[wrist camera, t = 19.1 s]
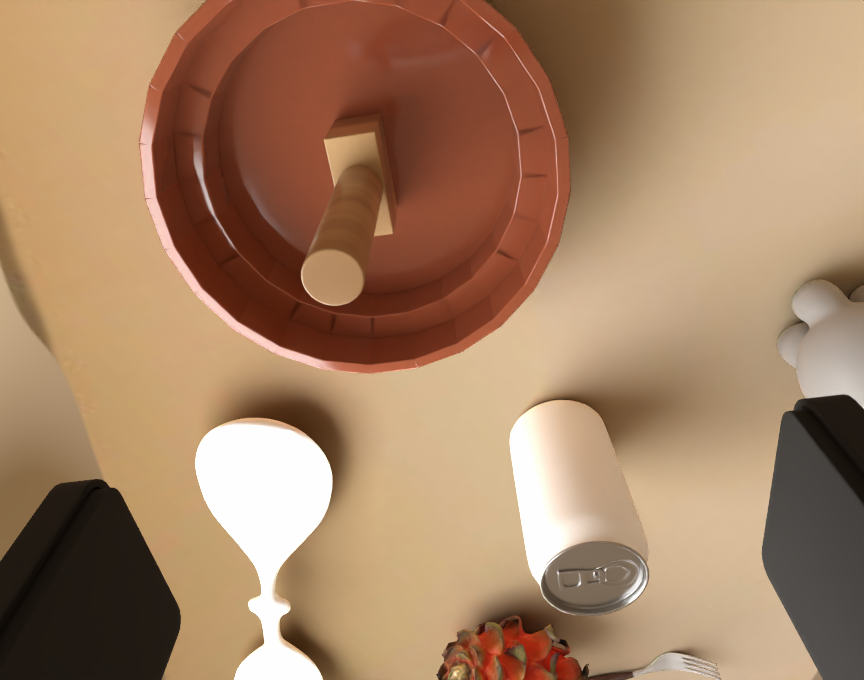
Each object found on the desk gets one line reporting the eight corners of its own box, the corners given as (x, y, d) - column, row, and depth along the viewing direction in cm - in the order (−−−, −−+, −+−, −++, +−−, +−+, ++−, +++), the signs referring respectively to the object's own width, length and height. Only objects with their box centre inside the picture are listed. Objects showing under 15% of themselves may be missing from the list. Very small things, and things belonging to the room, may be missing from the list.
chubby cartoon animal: (723, 427, 44) (781, 522, 37) (790, 262, 38) (875, 336, 31) (827, 435, 45) (905, 531, 37) (910, 273, 39) (1022, 349, 31)
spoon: (234, 689, 59) (224, 728, 56) (195, 395, 43) (177, 429, 40) (336, 693, 59) (331, 732, 56) (335, 403, 43) (327, 437, 40)
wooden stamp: (334, 119, 34) (279, 214, 22) (380, 112, 34) (351, 203, 21) (354, 213, 36) (315, 344, 24) (397, 207, 36) (380, 336, 24)
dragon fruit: (426, 604, 56) (562, 595, 58) (427, 710, 55) (565, 697, 57) (446, 639, 47) (604, 628, 49) (447, 765, 46) (608, 748, 49)
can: (608, 464, 46) (659, 614, 36) (515, 477, 46) (538, 628, 36) (602, 388, 43) (656, 528, 32) (502, 403, 43) (524, 546, 33)
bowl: (127, -14, 31) (67, -7, 26) (537, -83, 30) (559, -90, 25) (244, 336, 41) (217, 392, 36) (558, 296, 39) (577, 349, 34)
